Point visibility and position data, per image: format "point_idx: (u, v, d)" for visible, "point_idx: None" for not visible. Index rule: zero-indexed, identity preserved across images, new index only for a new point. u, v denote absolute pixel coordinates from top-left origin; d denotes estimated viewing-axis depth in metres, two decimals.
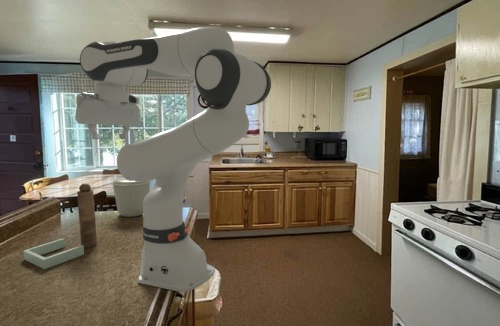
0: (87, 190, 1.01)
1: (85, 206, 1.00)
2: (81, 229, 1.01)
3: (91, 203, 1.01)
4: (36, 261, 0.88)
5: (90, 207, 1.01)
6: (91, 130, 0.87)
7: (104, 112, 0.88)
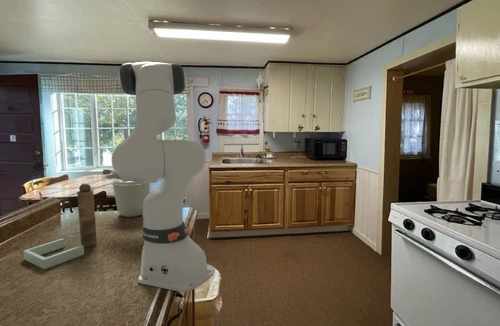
0: (87, 190, 1.01)
1: (84, 206, 1.00)
2: (81, 229, 1.01)
3: (91, 203, 1.01)
4: (36, 261, 0.88)
5: (90, 207, 1.01)
6: None
7: None
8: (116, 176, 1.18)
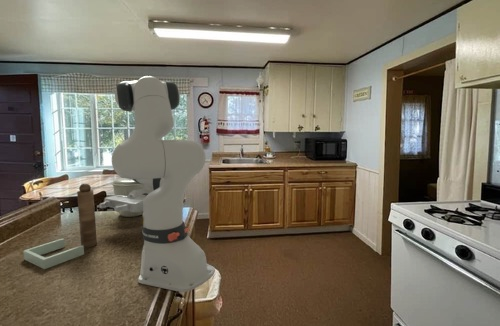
0: (87, 190, 1.01)
1: (84, 206, 1.00)
2: (81, 229, 1.01)
3: (91, 203, 1.01)
4: (36, 261, 0.88)
5: (90, 207, 1.01)
6: None
7: (122, 198, 1.18)
8: (110, 204, 1.16)
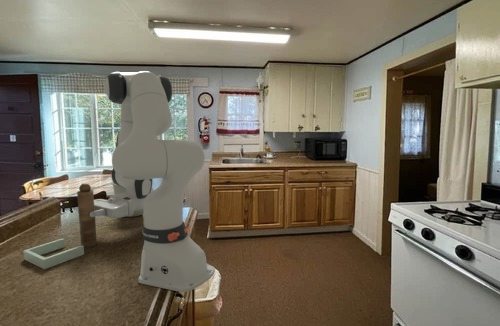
0: (87, 190, 1.01)
1: (84, 206, 1.00)
2: (81, 229, 1.01)
3: (91, 203, 1.01)
4: (36, 261, 0.88)
5: (90, 207, 1.01)
6: None
7: (101, 202, 1.10)
8: None
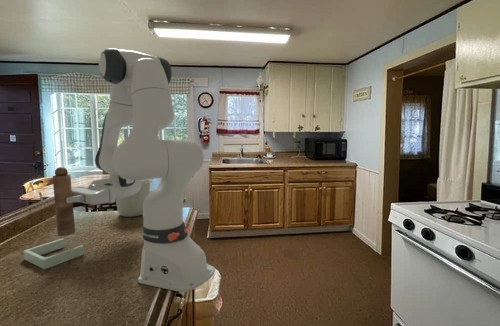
0: (63, 174, 0.93)
1: (60, 192, 0.93)
2: (57, 216, 0.94)
3: (68, 188, 0.94)
4: (36, 261, 0.88)
5: (66, 192, 0.94)
6: None
7: (81, 188, 1.03)
8: None
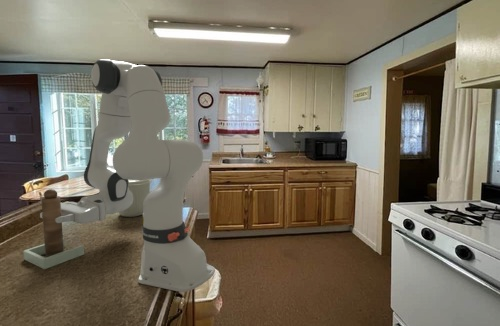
0: (52, 197, 0.91)
1: (49, 215, 0.90)
2: (45, 240, 0.91)
3: (57, 211, 0.91)
4: (36, 261, 0.88)
5: (55, 215, 0.91)
6: None
7: (70, 205, 1.00)
8: None
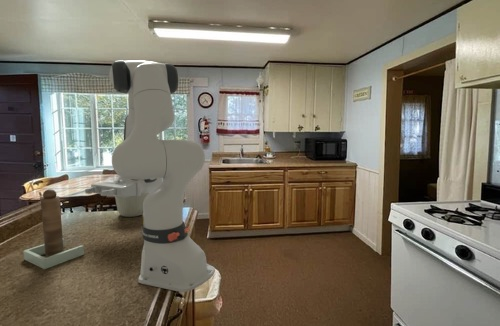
0: (52, 197, 0.91)
1: (48, 215, 0.90)
2: (45, 240, 0.91)
3: (56, 211, 0.91)
4: (36, 261, 0.88)
5: (55, 215, 0.91)
6: None
7: None
8: (96, 190, 1.10)
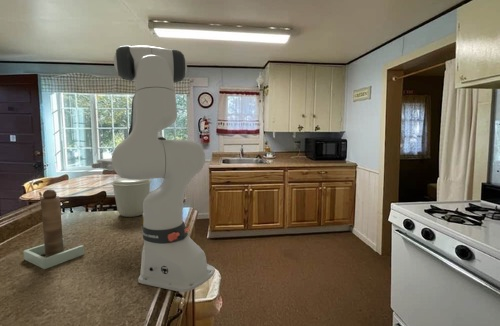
0: (52, 197, 0.91)
1: (48, 215, 0.90)
2: (45, 240, 0.91)
3: (56, 211, 0.91)
4: (36, 261, 0.88)
5: (55, 215, 0.91)
6: None
7: None
8: (102, 166, 1.12)
